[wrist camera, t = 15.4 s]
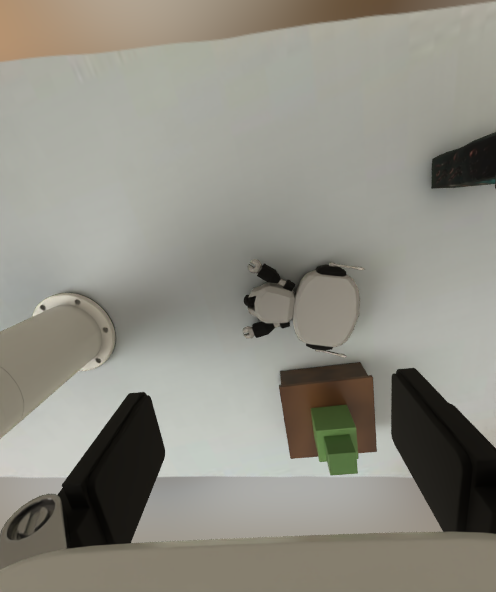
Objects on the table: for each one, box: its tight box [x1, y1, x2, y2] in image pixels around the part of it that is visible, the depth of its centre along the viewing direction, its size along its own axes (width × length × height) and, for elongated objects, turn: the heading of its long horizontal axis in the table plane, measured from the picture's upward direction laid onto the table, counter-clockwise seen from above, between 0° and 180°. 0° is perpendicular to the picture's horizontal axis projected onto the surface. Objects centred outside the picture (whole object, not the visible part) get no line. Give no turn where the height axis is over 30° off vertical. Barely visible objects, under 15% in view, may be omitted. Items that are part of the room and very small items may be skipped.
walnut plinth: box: [279, 362, 377, 459], centre depth 43 cm, size 13×13×4 cm
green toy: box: [311, 405, 358, 475], centre depth 37 cm, size 5×5×7 cm
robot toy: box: [243, 259, 364, 357], centre depth 38 cm, size 12×4×15 cm
